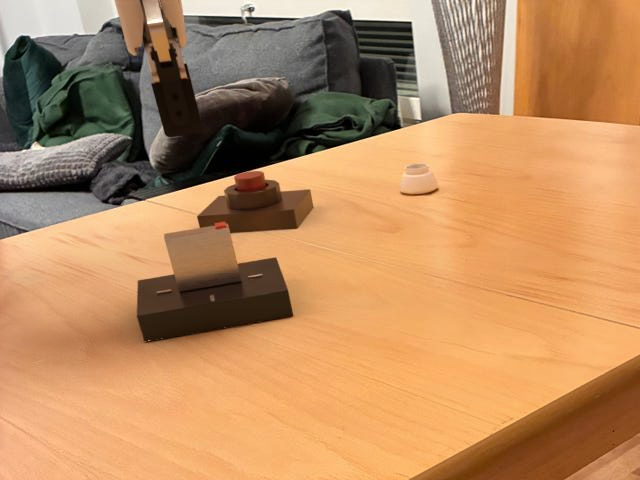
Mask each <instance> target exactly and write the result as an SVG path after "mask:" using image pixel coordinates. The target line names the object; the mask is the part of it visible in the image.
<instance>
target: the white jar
mask: <svg viewBox="0 0 640 480" xmlns="http://www.w3.org/2000/svg"><path fill="white" fill-rule="evenodd" d="M429 168H430V166H429V164H428V163H424V162H423V163H421V162H420V163H412V164H408V165H406V166H404V172H403V173H402V175H401V179H400V180H399V181H400V182H399V185H398V190H399V191H400V192H402V193H403V194H406V195H413V196H414V195H415V196H417V195H423V194H428V193H431V192H433V191H435V190H436V189H438V188H439V186H440V185H439V181H438V179H437V177H436V176H435V174H434V172H433V171H432V170H431V169H429Z"/></svg>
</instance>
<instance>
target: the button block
mask: <svg viewBox="0 0 640 480" xmlns="http://www.w3.org/2000/svg"><path fill="white" fill-rule="evenodd" d="M265 181H266V186H267V187H265V188H262V189H259V190H254V191H245V192H239V191H237V188H236V184H235V183H234V184H231V185H229V186H227V187H226V188H225V189H224V190H223V195H218V196H217V197H216V198H214V200H212V202H210V203H209V204H208V205H207V206H206V207H205V208H204V209H203V210H202V211H201V212H199V214H197V216H196V219H197V222H198V226H199V227H198V228H203V227H209V226H215V223H219V222H225V223H226V224H228V226H229V230H230V234H234V233H235V234H236V233H250V232H251V233H252V232H266V231H268V232H269V231H282V230H296V229H299V228H300V226H301V225H302V224H303V222H304V221H305V220H306V218H307V217H308V216H309V214H310V213H311V212H312V211H313V209H314V208H315V207H314V202H313V201H314V200H313V196H312V191H311V189H295V190H283V191H282V190H281V186H280V183H279V182H278V181H277V180H274V179H265Z"/></svg>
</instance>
